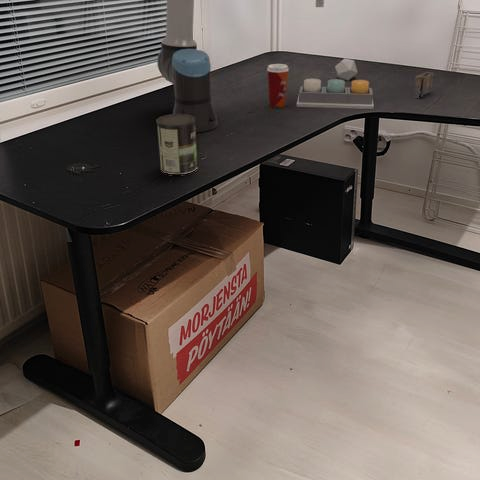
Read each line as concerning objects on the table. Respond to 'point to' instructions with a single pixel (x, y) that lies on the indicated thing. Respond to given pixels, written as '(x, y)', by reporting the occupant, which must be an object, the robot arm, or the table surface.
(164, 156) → the coffee can
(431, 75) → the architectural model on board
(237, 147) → the table surface
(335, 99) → the panel
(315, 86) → the ivory button
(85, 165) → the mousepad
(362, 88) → the orange candle
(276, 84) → the paper cup
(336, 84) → the teal button
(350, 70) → the die
